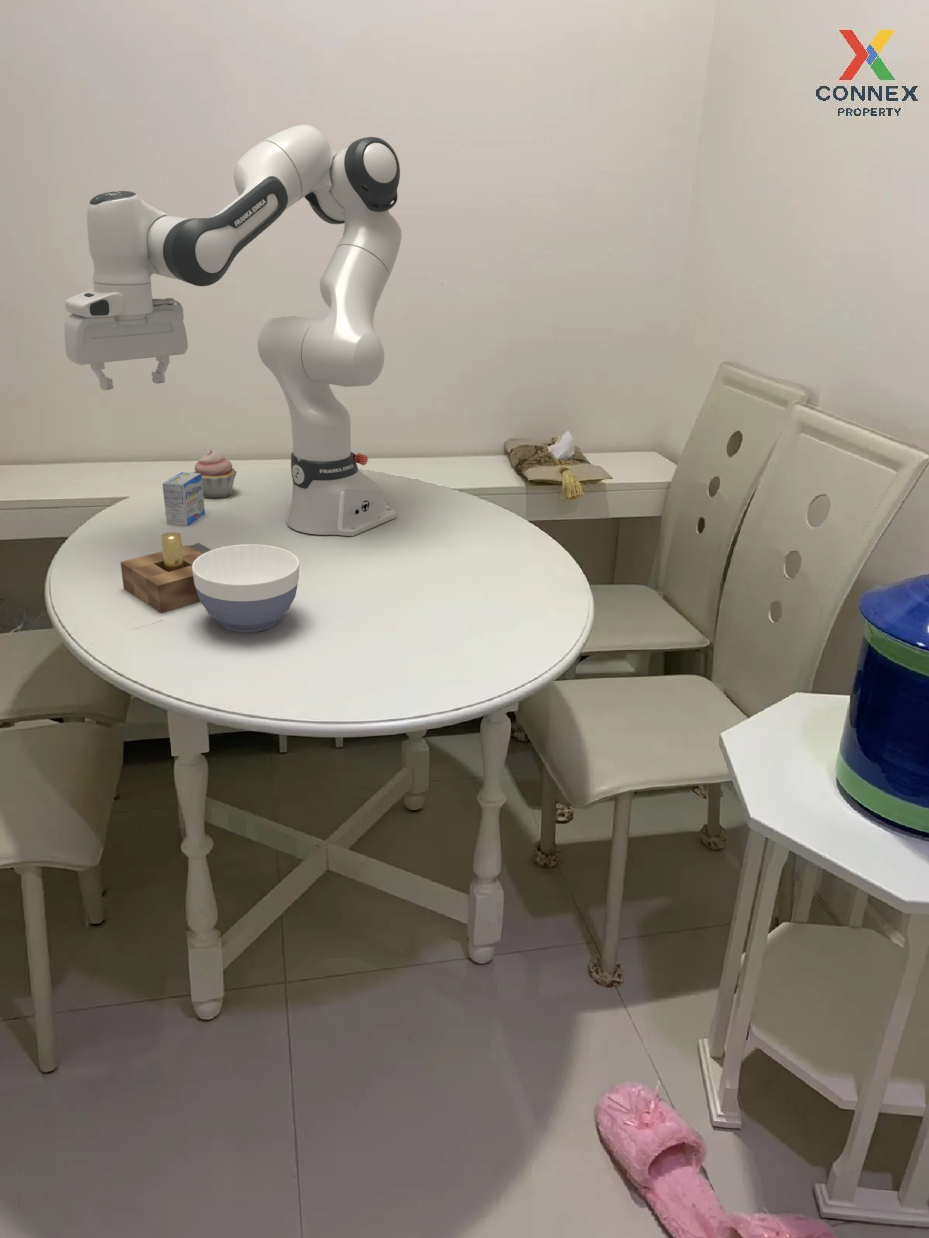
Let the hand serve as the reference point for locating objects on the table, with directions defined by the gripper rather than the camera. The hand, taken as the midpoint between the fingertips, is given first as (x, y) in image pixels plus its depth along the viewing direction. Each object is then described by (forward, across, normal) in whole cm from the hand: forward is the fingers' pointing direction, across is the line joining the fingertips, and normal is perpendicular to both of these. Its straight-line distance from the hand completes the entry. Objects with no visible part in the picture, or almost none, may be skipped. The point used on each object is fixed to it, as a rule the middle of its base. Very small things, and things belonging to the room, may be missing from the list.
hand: (133, 386), depth 157 cm
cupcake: (+29, -25, -18) cm, 43 cm away
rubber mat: (+29, -2, +9) cm, 31 cm away
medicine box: (+29, -12, -8) cm, 33 cm away
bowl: (+29, +3, +37) cm, 47 cm away
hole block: (+29, +7, +21) cm, 37 cm away
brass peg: (+29, +7, +21) cm, 37 cm away
